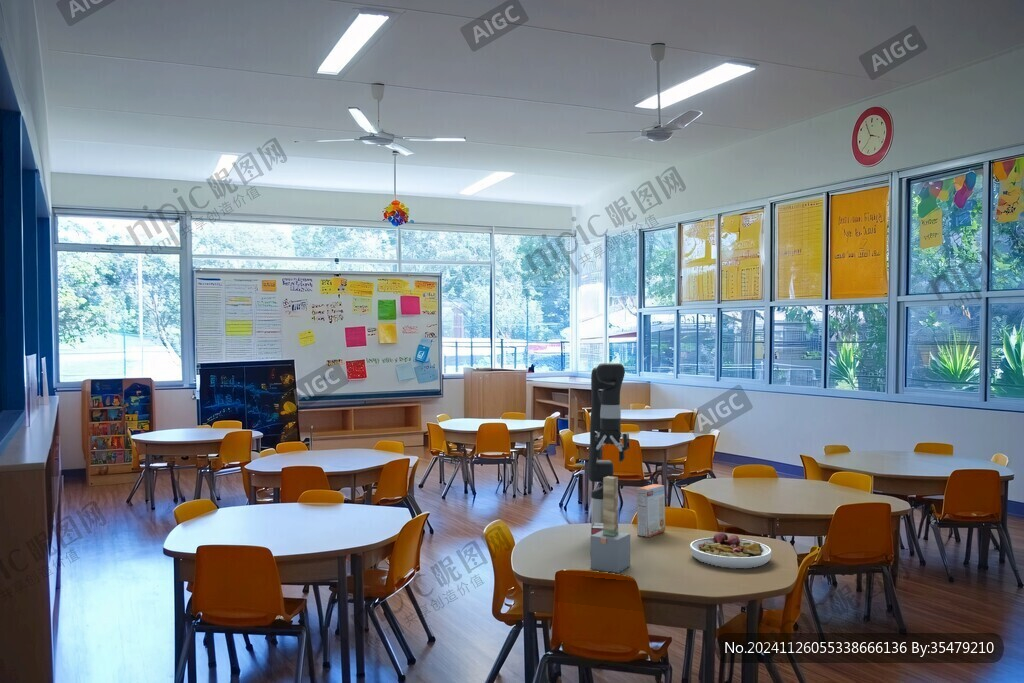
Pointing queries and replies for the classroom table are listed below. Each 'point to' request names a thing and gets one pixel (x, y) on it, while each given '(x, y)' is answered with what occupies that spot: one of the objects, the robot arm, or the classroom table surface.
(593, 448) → the robot arm
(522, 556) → the classroom table surface
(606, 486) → the post
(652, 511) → the cracker box
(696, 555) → the plate of food
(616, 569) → the grey box
